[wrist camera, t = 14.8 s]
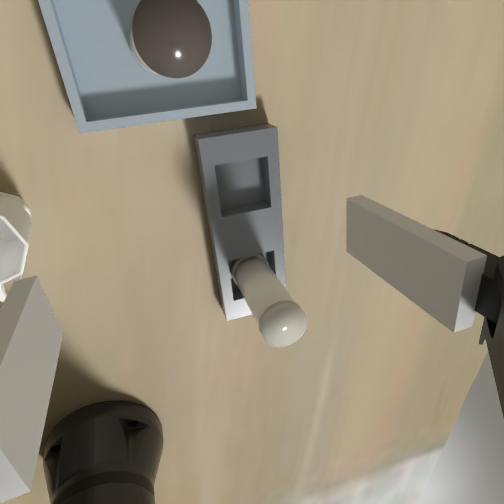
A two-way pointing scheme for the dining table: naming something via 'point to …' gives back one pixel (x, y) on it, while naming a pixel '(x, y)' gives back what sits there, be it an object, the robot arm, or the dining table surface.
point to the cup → (13, 238)
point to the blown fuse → (170, 37)
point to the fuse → (269, 301)
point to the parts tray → (136, 77)
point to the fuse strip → (242, 204)
